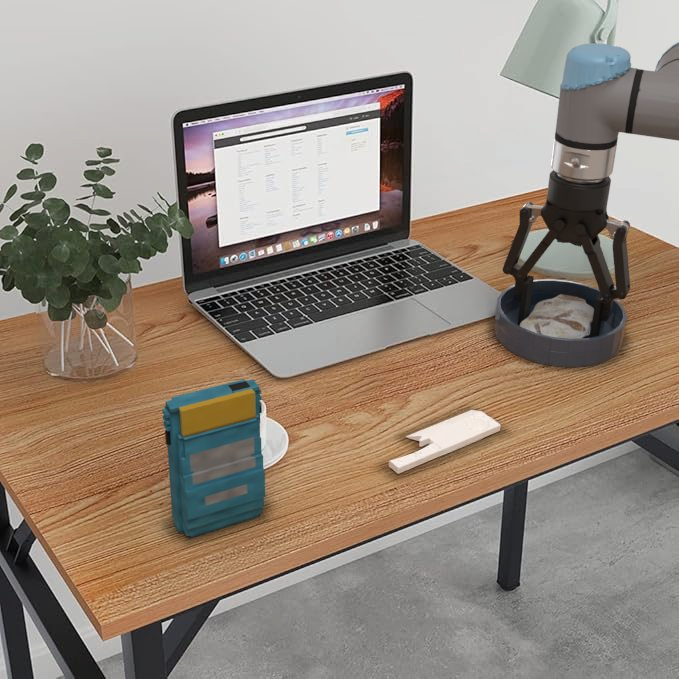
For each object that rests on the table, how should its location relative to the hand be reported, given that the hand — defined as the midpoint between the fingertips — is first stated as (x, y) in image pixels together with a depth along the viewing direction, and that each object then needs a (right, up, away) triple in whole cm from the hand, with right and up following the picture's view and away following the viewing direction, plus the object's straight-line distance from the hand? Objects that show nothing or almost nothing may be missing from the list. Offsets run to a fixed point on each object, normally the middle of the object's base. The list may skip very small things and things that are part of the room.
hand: (557, 330), depth 143 cm
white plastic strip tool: (-18, -13, -22) cm, 31 cm away
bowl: (0, 0, 0) cm, 1 cm away
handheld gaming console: (-42, -20, -34) cm, 57 cm away
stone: (0, 0, 0) cm, 0 cm away
